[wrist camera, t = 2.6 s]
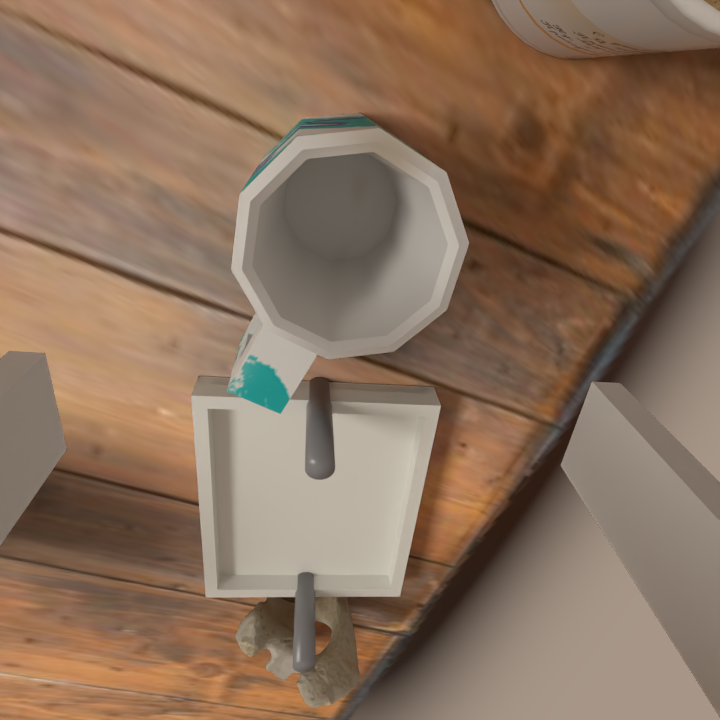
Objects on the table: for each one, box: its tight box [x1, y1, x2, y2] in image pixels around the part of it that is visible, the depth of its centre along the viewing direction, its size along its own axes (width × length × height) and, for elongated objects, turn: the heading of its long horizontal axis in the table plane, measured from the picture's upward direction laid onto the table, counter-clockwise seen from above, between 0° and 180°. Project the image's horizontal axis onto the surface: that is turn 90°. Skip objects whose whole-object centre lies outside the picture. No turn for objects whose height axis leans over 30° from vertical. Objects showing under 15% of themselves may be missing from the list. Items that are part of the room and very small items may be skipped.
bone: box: [235, 597, 360, 707], centre depth 35 cm, size 9×6×10 cm
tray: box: [191, 376, 441, 673], centre depth 30 cm, size 17×14×7 cm
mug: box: [227, 113, 469, 414], centre depth 22 cm, size 8×12×8 cm
